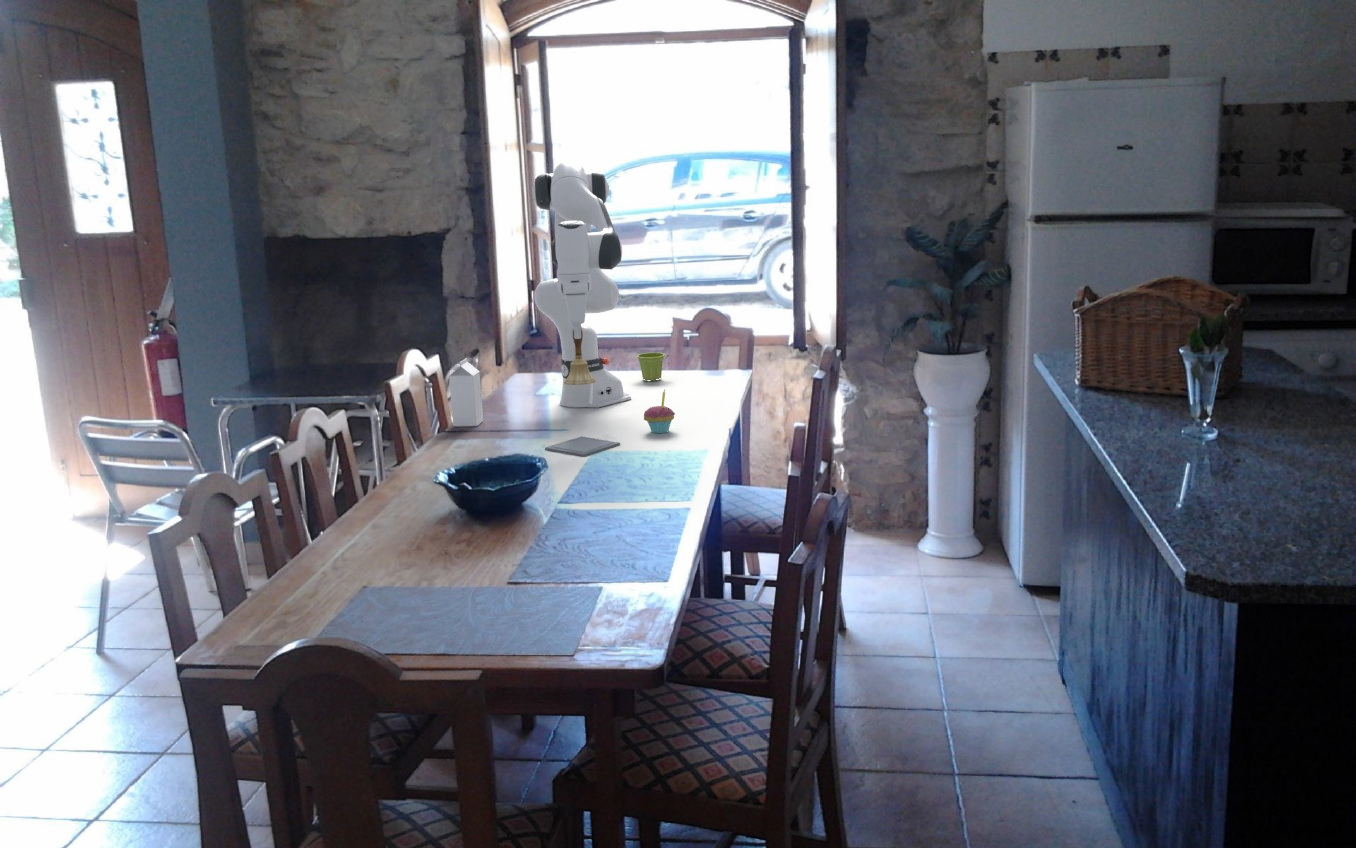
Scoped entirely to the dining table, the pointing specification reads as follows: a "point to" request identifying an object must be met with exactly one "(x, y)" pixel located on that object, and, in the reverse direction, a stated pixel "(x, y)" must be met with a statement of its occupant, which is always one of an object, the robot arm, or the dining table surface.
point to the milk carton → (466, 395)
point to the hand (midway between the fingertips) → (577, 337)
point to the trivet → (582, 446)
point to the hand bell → (579, 367)
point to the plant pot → (651, 365)
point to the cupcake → (659, 417)
